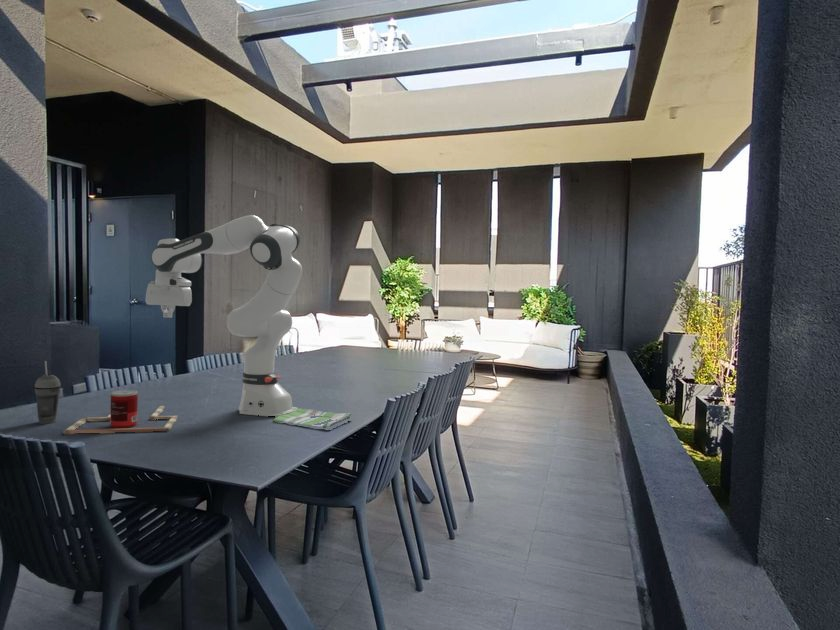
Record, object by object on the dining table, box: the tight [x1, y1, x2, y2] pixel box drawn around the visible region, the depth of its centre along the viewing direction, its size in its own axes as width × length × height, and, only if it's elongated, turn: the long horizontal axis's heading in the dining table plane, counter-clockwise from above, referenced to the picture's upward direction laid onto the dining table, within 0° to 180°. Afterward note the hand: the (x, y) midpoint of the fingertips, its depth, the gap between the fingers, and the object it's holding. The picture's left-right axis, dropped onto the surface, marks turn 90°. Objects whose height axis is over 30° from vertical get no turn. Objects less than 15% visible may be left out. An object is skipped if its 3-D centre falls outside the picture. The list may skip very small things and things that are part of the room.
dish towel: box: [272, 407, 352, 428], centre depth 187 cm, size 17×23×4 cm
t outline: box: [62, 405, 179, 435], centre depth 178 cm, size 32×29×1 cm
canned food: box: [109, 389, 139, 429], centre depth 171 cm, size 8×8×11 cm
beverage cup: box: [33, 360, 62, 425], centre depth 171 cm, size 7×7×20 cm
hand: (167, 317), depth 201 cm, fingers closed
